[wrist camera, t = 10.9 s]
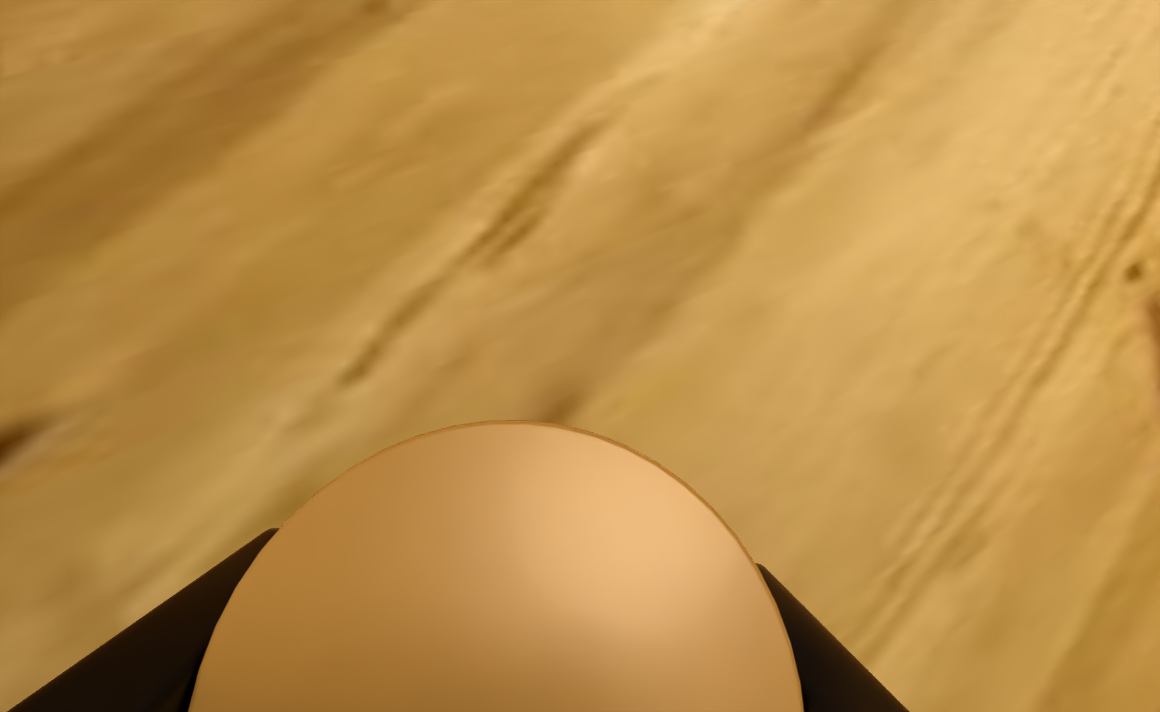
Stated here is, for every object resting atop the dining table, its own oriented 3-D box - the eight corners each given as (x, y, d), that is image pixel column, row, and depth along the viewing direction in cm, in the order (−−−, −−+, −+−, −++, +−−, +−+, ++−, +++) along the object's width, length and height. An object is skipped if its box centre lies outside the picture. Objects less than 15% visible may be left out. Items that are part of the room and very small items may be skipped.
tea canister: (398, 834, 13) (197, 1253, 5) (360, 544, 15) (161, 484, 7) (670, 754, 14) (900, 993, 6) (605, 488, 16) (710, 371, 7)
